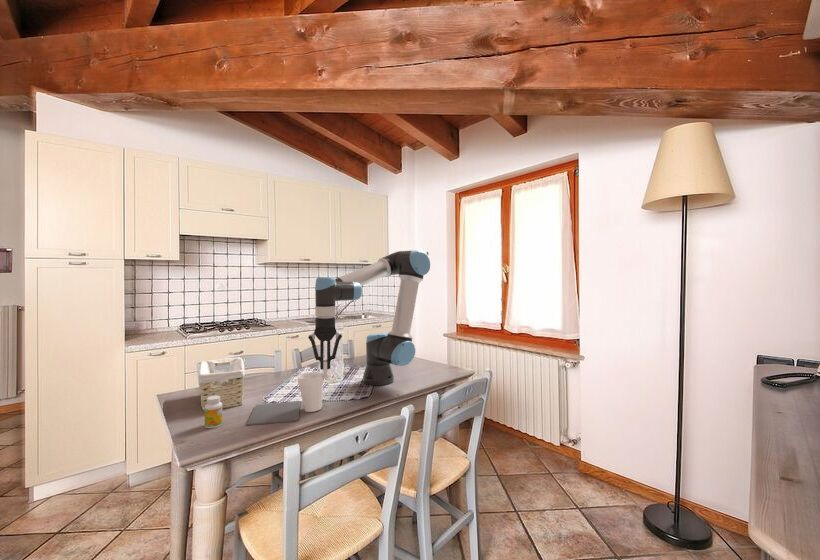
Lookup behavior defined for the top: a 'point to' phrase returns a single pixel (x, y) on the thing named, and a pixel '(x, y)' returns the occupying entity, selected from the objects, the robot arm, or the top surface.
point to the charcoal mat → (274, 413)
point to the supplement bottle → (213, 412)
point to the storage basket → (222, 381)
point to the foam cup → (311, 390)
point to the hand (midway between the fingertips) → (325, 377)
